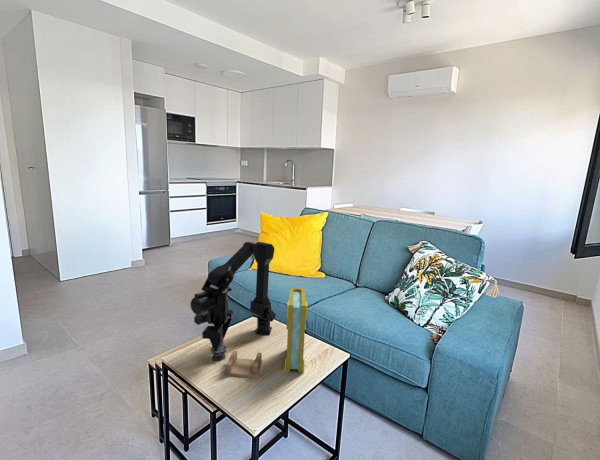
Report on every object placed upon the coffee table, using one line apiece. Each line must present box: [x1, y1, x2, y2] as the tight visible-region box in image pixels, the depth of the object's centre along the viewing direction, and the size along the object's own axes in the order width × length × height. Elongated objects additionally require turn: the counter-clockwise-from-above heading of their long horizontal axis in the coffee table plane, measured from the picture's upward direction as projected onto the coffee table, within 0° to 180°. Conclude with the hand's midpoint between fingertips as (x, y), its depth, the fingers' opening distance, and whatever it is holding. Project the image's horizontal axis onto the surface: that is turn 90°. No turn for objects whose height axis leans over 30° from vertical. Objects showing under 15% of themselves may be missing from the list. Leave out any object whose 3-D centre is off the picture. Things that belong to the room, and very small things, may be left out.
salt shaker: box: [210, 337, 228, 362], centre depth 121 cm, size 6×6×12 cm
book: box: [284, 287, 308, 374], centre depth 121 cm, size 17×7×25 cm, turn 0°
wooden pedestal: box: [224, 350, 263, 379], centre depth 115 cm, size 9×11×4 cm
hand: (218, 344), depth 121 cm, fingers open, 8 cm apart
